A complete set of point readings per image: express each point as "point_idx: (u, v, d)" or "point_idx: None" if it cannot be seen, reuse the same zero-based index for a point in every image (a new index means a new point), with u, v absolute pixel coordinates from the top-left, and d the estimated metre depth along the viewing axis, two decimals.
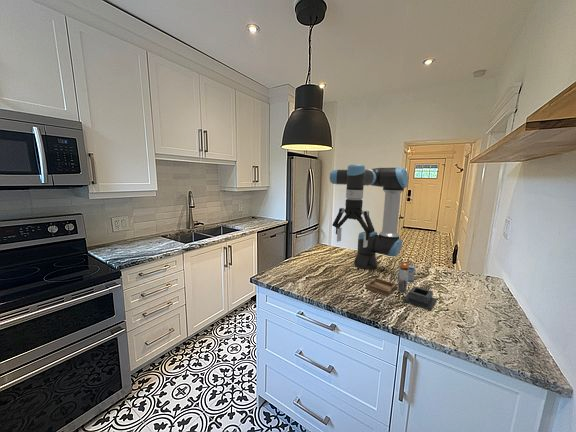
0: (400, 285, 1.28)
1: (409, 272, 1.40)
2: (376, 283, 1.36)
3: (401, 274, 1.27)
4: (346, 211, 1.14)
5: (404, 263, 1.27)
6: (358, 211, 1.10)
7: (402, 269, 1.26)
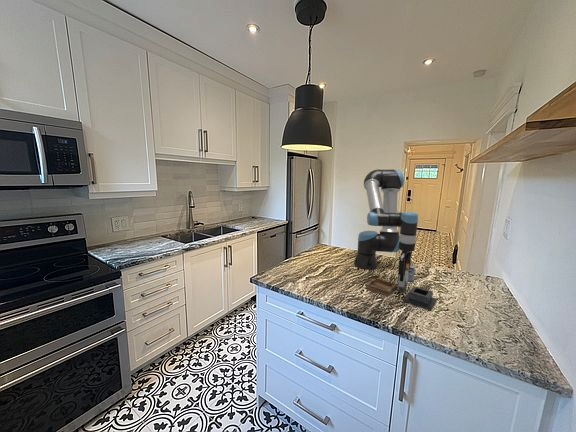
0: None
1: (409, 272, 1.40)
2: (376, 283, 1.36)
3: None
4: None
5: None
6: None
7: None
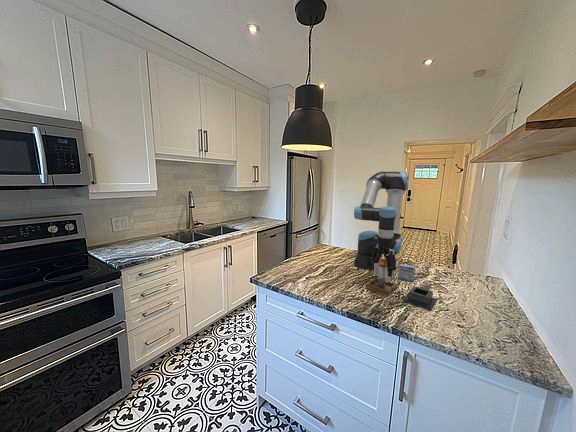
0: (382, 283, 1.29)
1: (409, 272, 1.40)
2: (376, 283, 1.36)
3: (383, 272, 1.28)
4: (379, 246, 1.30)
5: (383, 260, 1.29)
6: (386, 248, 1.24)
7: (385, 266, 1.27)
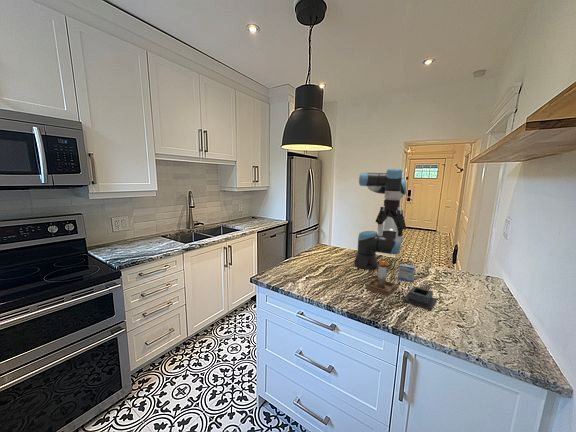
0: (382, 283, 1.29)
1: (409, 272, 1.40)
2: (376, 283, 1.36)
3: (383, 272, 1.28)
4: (385, 209, 1.30)
5: (382, 260, 1.28)
6: (393, 210, 1.25)
7: (385, 266, 1.27)
